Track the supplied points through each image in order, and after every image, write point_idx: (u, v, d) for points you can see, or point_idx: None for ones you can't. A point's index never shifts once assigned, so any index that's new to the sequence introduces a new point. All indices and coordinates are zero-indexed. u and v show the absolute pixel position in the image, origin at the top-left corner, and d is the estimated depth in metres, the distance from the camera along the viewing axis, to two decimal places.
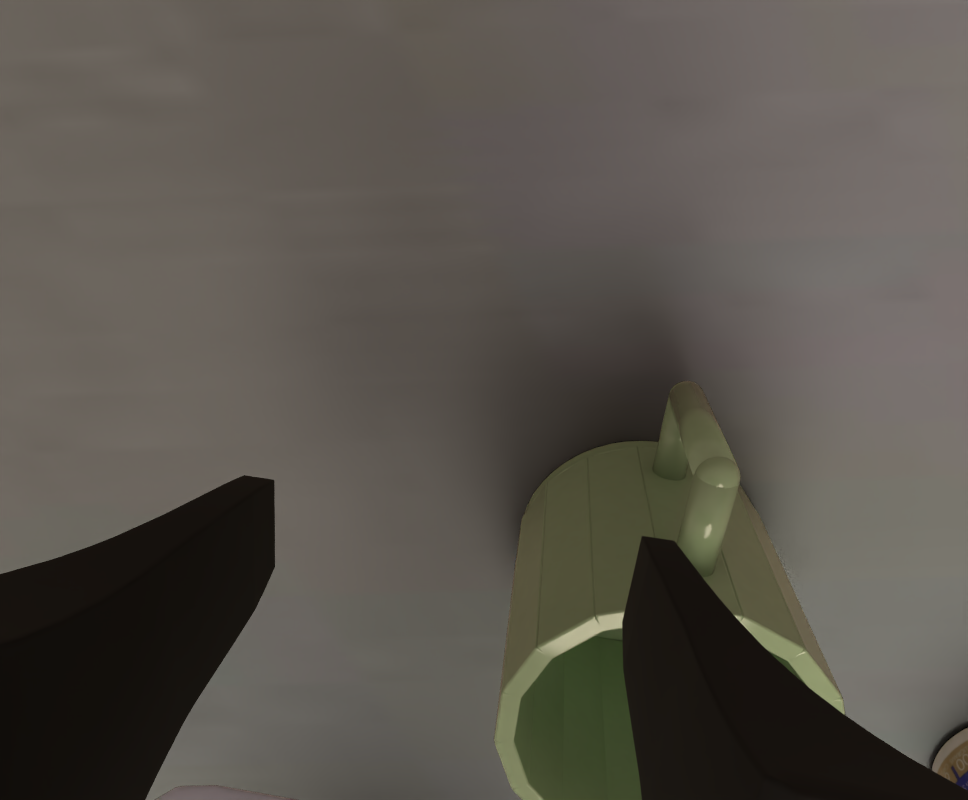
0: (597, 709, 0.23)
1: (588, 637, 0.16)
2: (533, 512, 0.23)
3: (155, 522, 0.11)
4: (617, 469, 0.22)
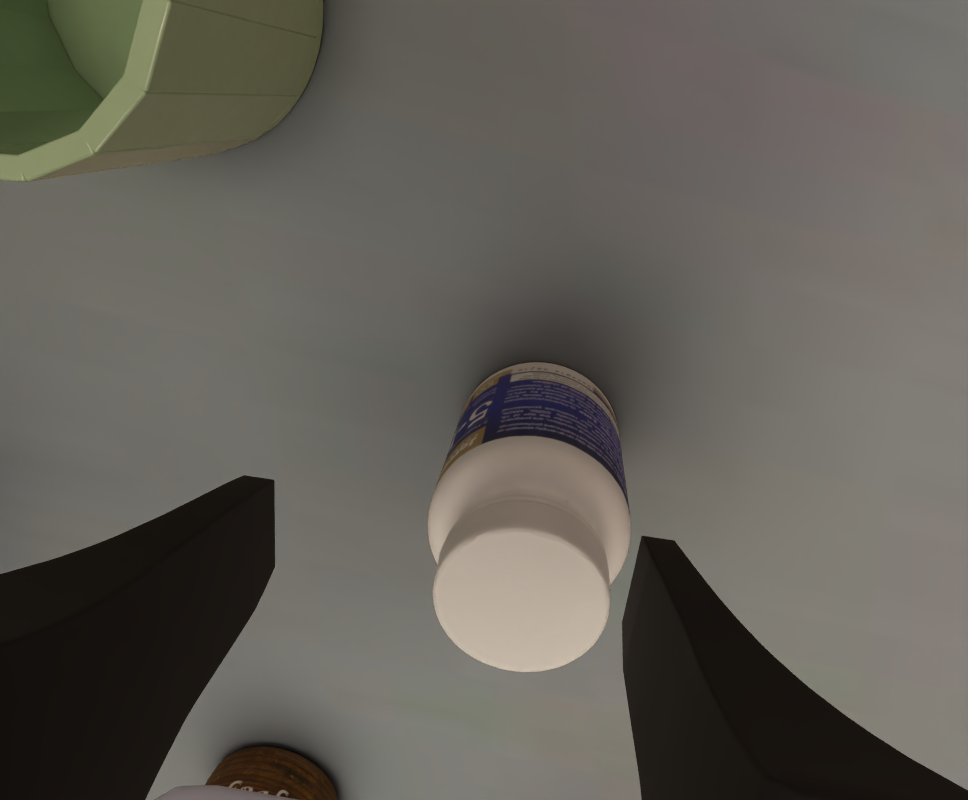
0: (25, 104, 0.18)
1: None
2: None
3: (156, 522, 0.11)
4: None
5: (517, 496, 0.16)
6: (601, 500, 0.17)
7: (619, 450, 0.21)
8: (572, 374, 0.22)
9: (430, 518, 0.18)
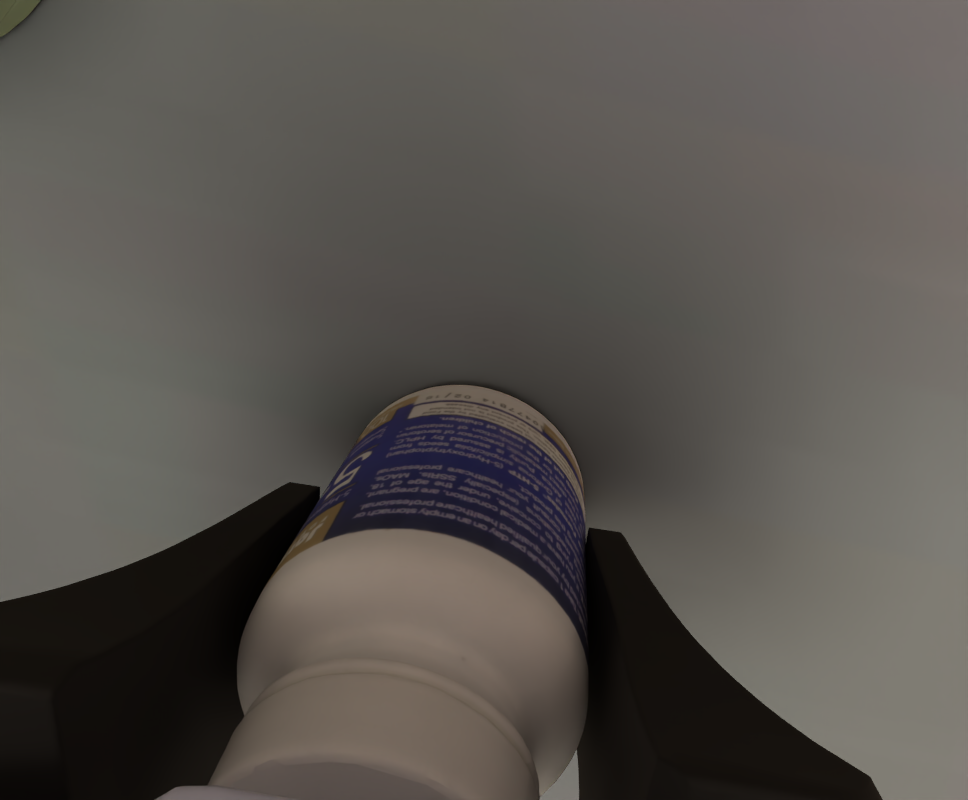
0: None
1: None
2: None
3: (211, 531, 0.11)
4: None
5: (360, 661, 0.09)
6: (529, 653, 0.09)
7: (578, 531, 0.13)
8: (509, 403, 0.14)
9: (237, 669, 0.10)
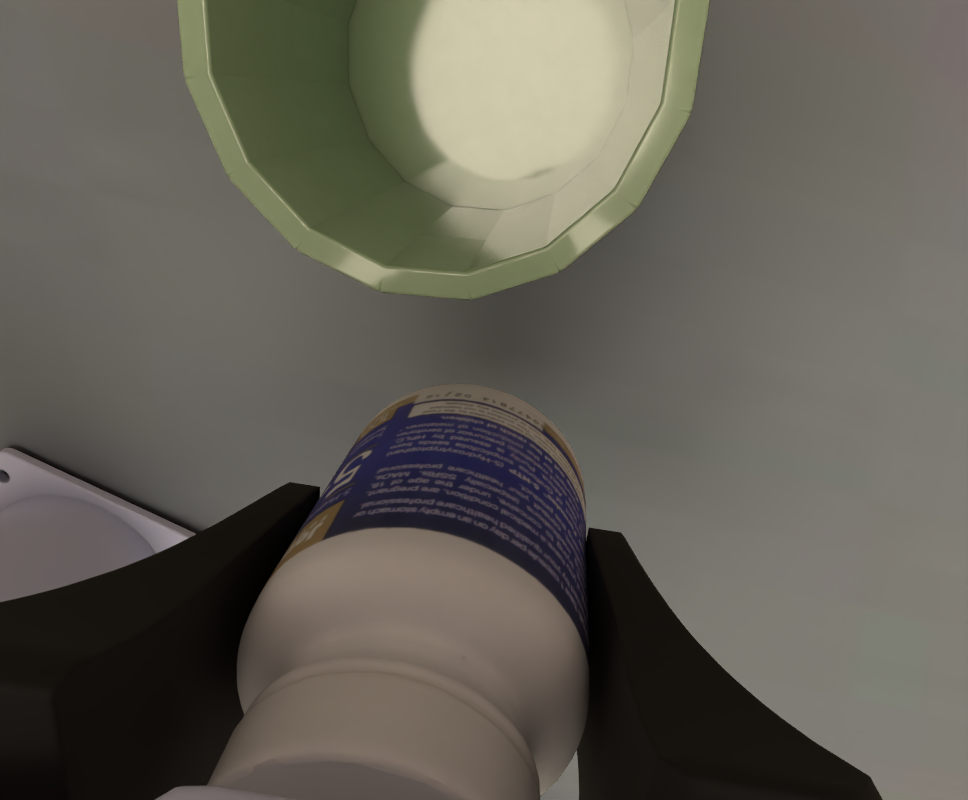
0: (367, 190, 0.16)
1: None
2: None
3: (212, 531, 0.11)
4: None
5: (360, 660, 0.09)
6: (530, 652, 0.09)
7: (578, 530, 0.13)
8: (510, 403, 0.14)
9: (237, 668, 0.10)
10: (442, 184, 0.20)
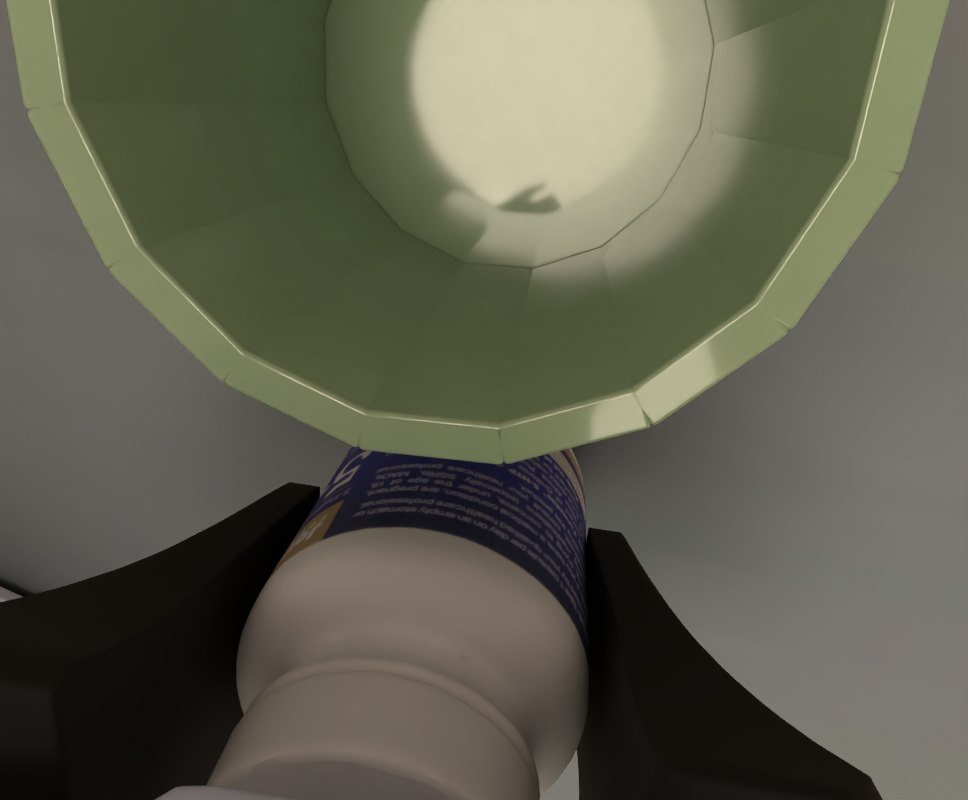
0: (347, 255, 0.12)
1: None
2: None
3: (211, 531, 0.11)
4: None
5: (359, 659, 0.09)
6: (530, 652, 0.09)
7: (578, 530, 0.13)
8: None
9: (236, 668, 0.10)
10: (450, 234, 0.15)
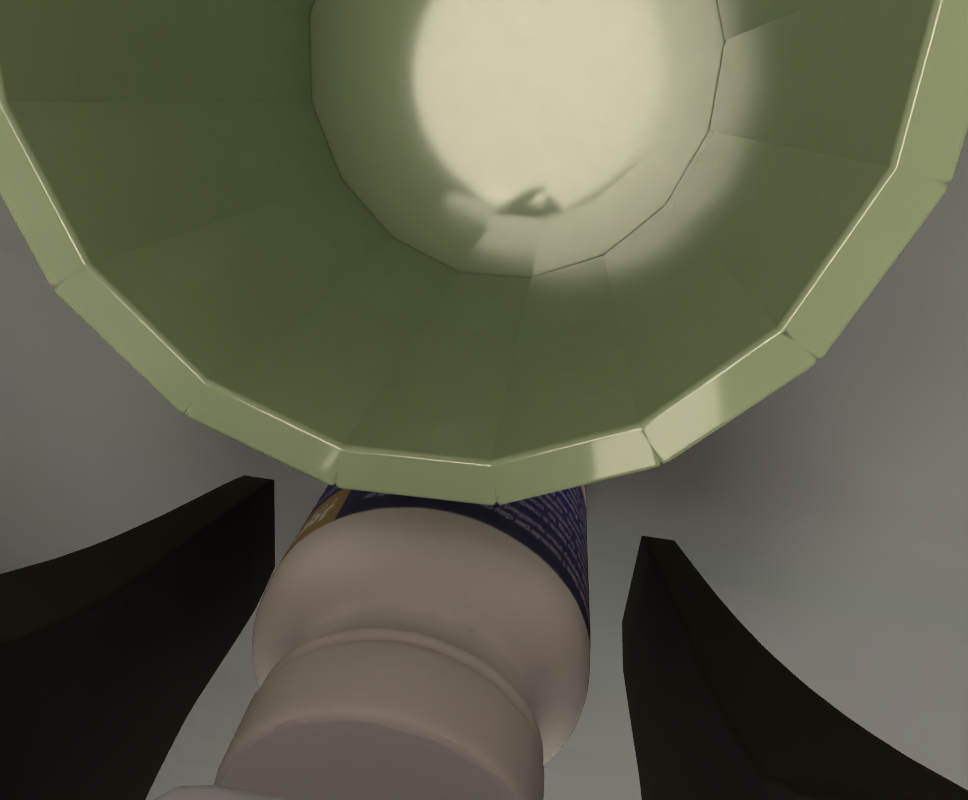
0: (331, 267, 0.11)
1: None
2: None
3: (156, 522, 0.11)
4: None
5: (373, 630, 0.09)
6: (533, 624, 0.10)
7: (579, 514, 0.13)
8: None
9: (253, 643, 0.11)
10: (444, 241, 0.14)
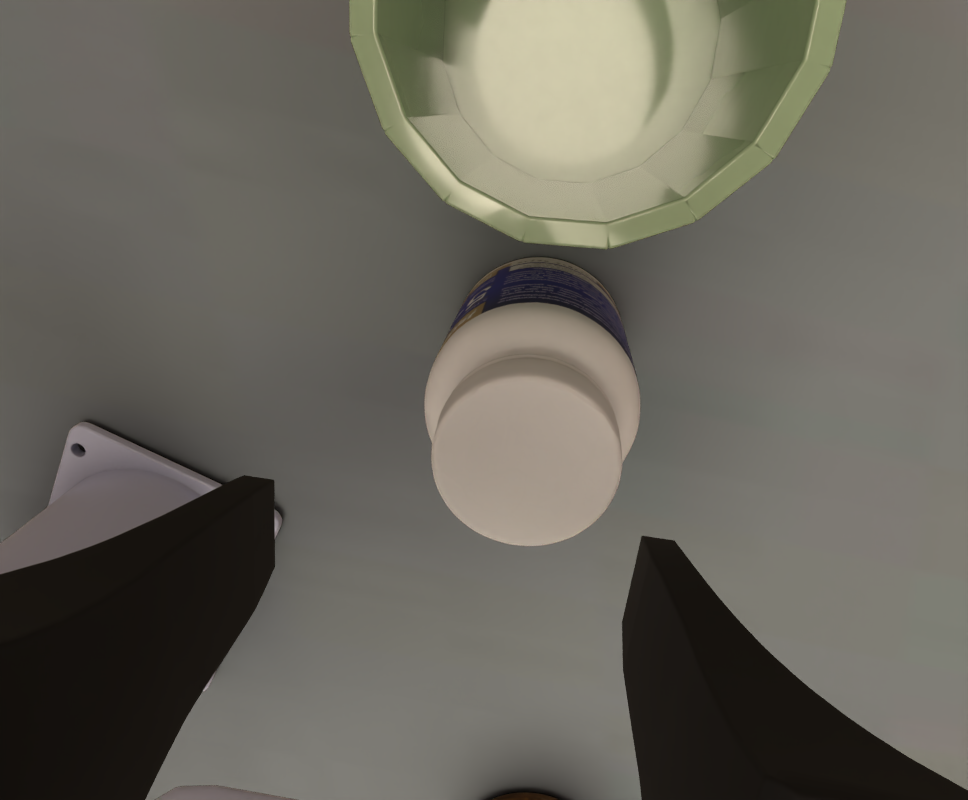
0: (476, 157, 0.17)
1: None
2: None
3: (156, 522, 0.11)
4: None
5: (521, 354, 0.15)
6: (609, 366, 0.16)
7: (625, 337, 0.20)
8: (574, 267, 0.21)
9: (427, 395, 0.17)
10: (529, 158, 0.20)
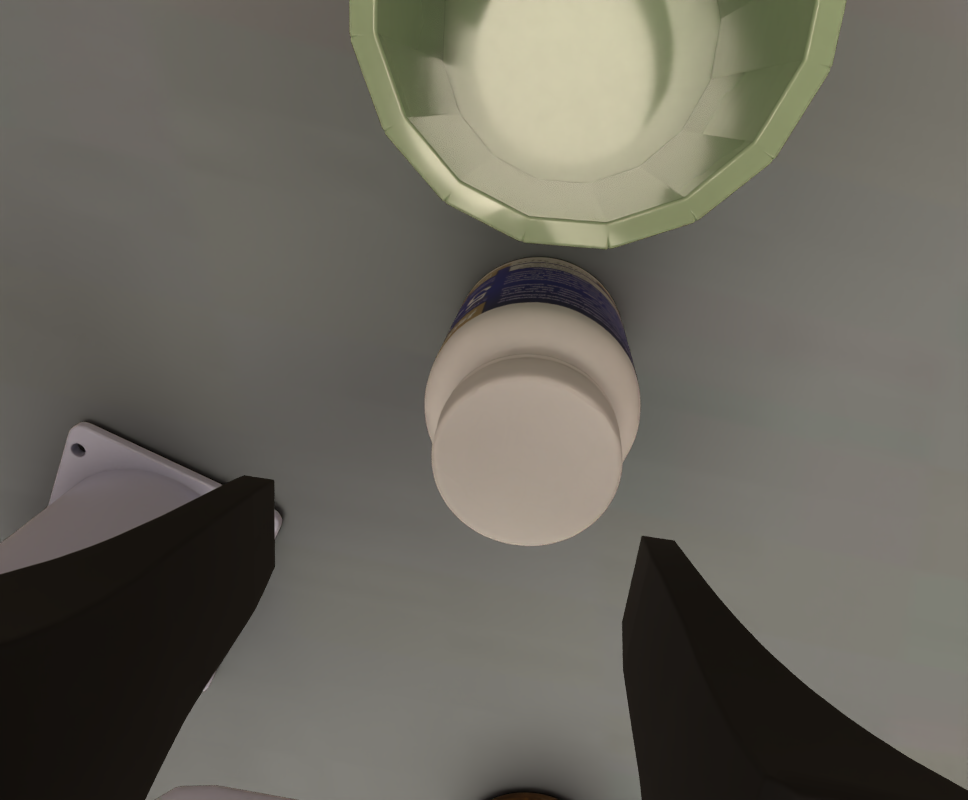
0: (476, 157, 0.17)
1: None
2: None
3: (156, 522, 0.11)
4: None
5: (521, 354, 0.15)
6: (609, 366, 0.16)
7: (625, 337, 0.20)
8: (574, 267, 0.21)
9: (427, 395, 0.17)
10: (529, 158, 0.20)
